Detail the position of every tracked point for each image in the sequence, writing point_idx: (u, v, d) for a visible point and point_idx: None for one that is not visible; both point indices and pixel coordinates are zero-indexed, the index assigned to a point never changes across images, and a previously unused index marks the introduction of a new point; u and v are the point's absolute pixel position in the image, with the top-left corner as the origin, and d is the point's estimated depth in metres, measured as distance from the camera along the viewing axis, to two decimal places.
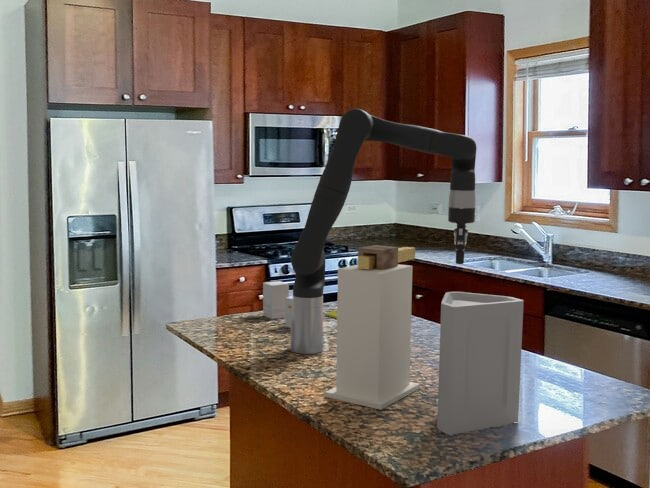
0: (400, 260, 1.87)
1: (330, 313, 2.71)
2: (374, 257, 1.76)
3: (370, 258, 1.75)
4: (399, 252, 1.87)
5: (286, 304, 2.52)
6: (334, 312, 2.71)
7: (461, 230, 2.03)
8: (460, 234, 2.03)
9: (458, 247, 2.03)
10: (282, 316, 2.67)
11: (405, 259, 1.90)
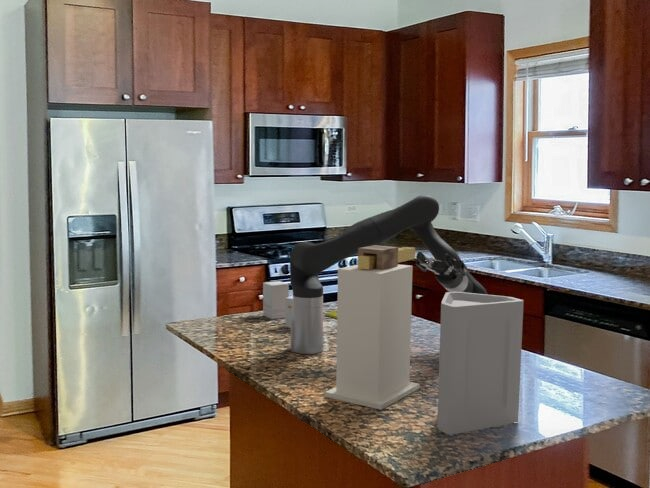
0: (400, 260, 1.87)
1: (330, 313, 2.71)
2: (374, 257, 1.76)
3: (370, 258, 1.75)
4: (399, 252, 1.87)
5: (286, 304, 2.52)
6: (334, 312, 2.71)
7: (465, 272, 2.10)
8: (464, 269, 2.09)
9: (461, 263, 2.06)
10: (282, 316, 2.67)
11: (405, 259, 1.90)
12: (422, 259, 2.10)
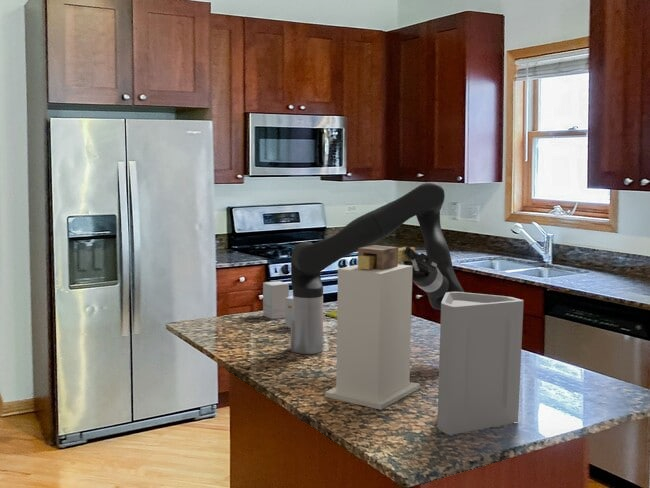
0: (400, 260, 1.87)
1: (330, 313, 2.71)
2: (374, 257, 1.76)
3: (370, 258, 1.75)
4: (399, 252, 1.87)
5: (286, 304, 2.52)
6: (334, 312, 2.71)
7: (435, 266, 1.93)
8: (432, 263, 1.93)
9: (423, 257, 1.91)
10: (282, 316, 2.67)
11: (405, 259, 1.90)
12: None
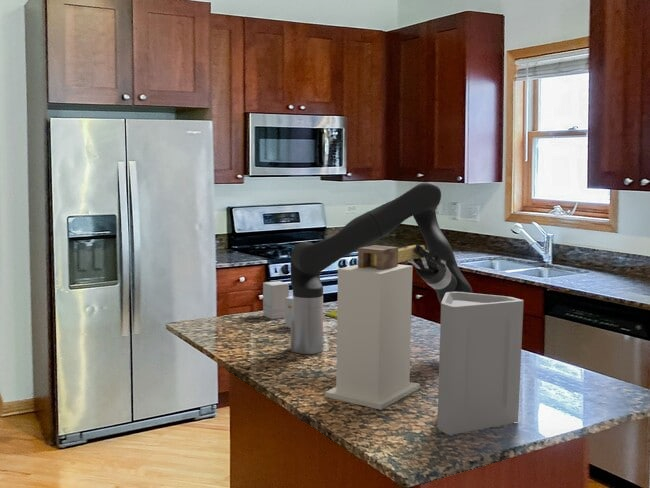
0: (410, 257, 1.92)
1: (331, 313, 2.71)
2: None
3: None
4: (409, 250, 1.91)
5: (286, 304, 2.52)
6: (334, 312, 2.71)
7: (444, 263, 1.98)
8: (441, 261, 1.97)
9: (433, 254, 1.96)
10: (282, 316, 2.67)
11: (415, 257, 1.94)
12: None
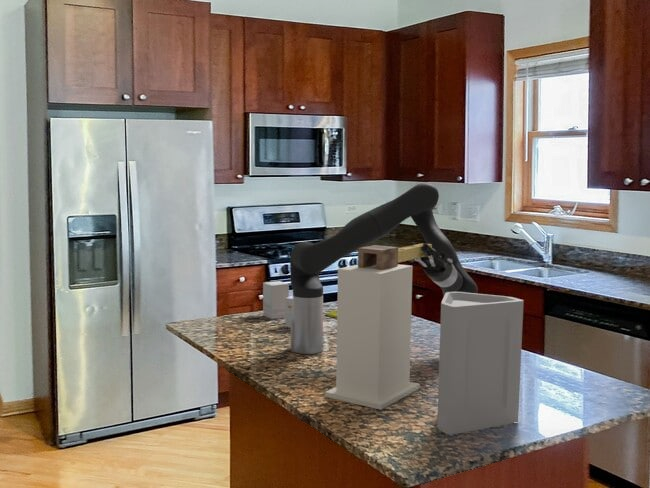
0: (418, 256, 1.96)
1: (331, 313, 2.71)
2: None
3: None
4: (417, 248, 1.95)
5: (286, 304, 2.52)
6: (334, 311, 2.71)
7: (451, 261, 2.01)
8: (448, 259, 2.01)
9: (440, 253, 2.00)
10: (282, 316, 2.67)
11: (422, 255, 1.98)
12: None
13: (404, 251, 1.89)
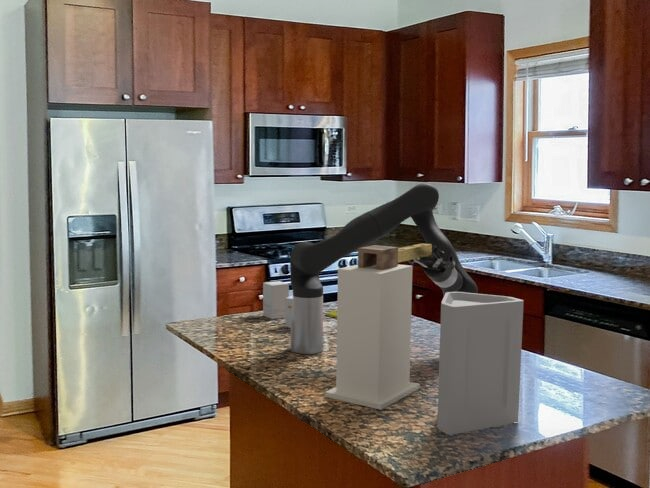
0: (418, 256, 1.96)
1: (331, 313, 2.71)
2: None
3: None
4: (417, 248, 1.95)
5: (286, 304, 2.52)
6: (334, 311, 2.71)
7: (454, 264, 2.03)
8: (453, 262, 2.02)
9: (449, 255, 1.99)
10: (282, 316, 2.67)
11: (422, 255, 1.98)
12: None
13: (404, 251, 1.89)
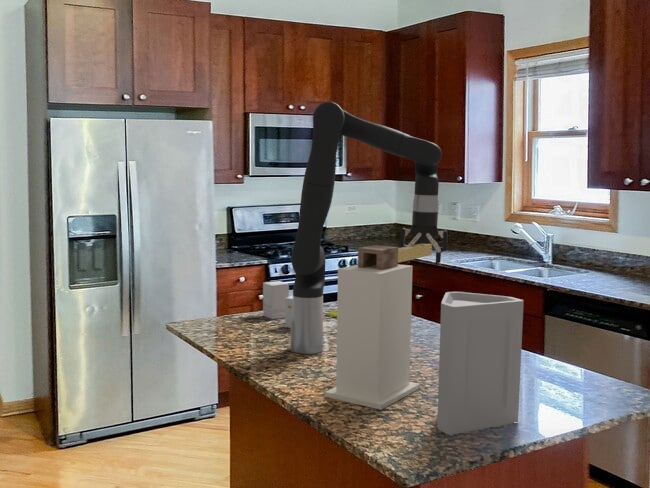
0: (418, 256, 1.96)
1: (331, 313, 2.71)
2: None
3: None
4: (417, 248, 1.95)
5: (286, 304, 2.52)
6: (334, 311, 2.72)
7: None
8: None
9: (446, 248, 2.17)
10: (282, 316, 2.67)
11: (422, 255, 1.98)
12: None
13: (404, 251, 1.89)
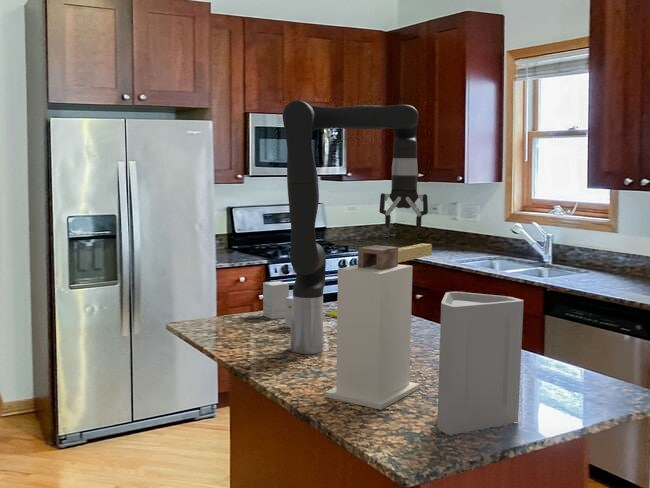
0: (418, 256, 1.96)
1: (331, 313, 2.71)
2: None
3: None
4: (417, 248, 1.95)
5: (286, 304, 2.52)
6: (335, 311, 2.72)
7: None
8: (427, 199, 2.14)
9: None
10: (282, 316, 2.67)
11: (422, 255, 1.98)
12: (390, 219, 2.18)
13: (404, 251, 1.89)
